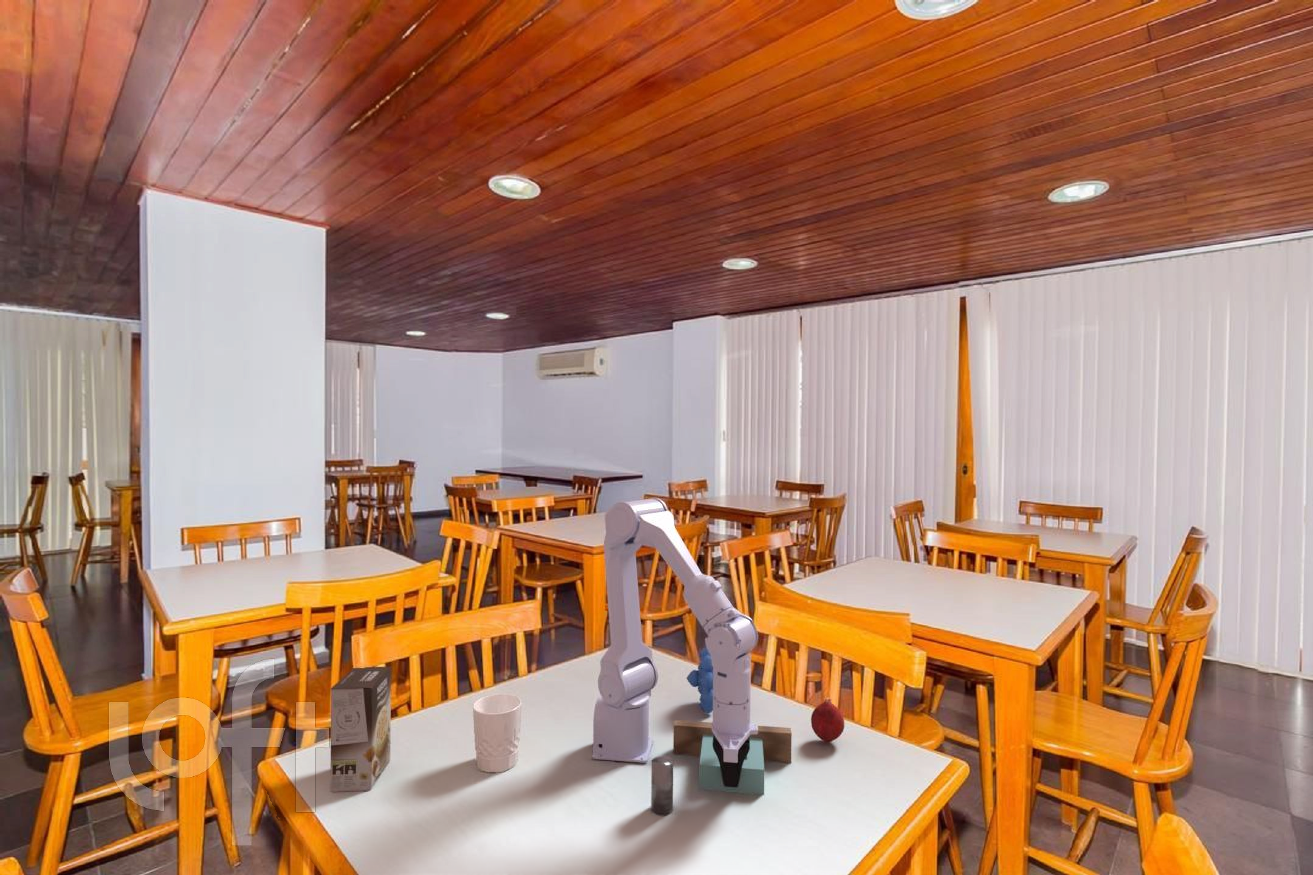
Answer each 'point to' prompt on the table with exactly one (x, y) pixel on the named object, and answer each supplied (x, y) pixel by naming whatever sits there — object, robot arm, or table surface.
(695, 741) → the wall
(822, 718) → the onion
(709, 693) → the grapes
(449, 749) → the table surface
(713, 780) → the block
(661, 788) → the dowel
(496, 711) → the white cup
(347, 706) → the coffee box
